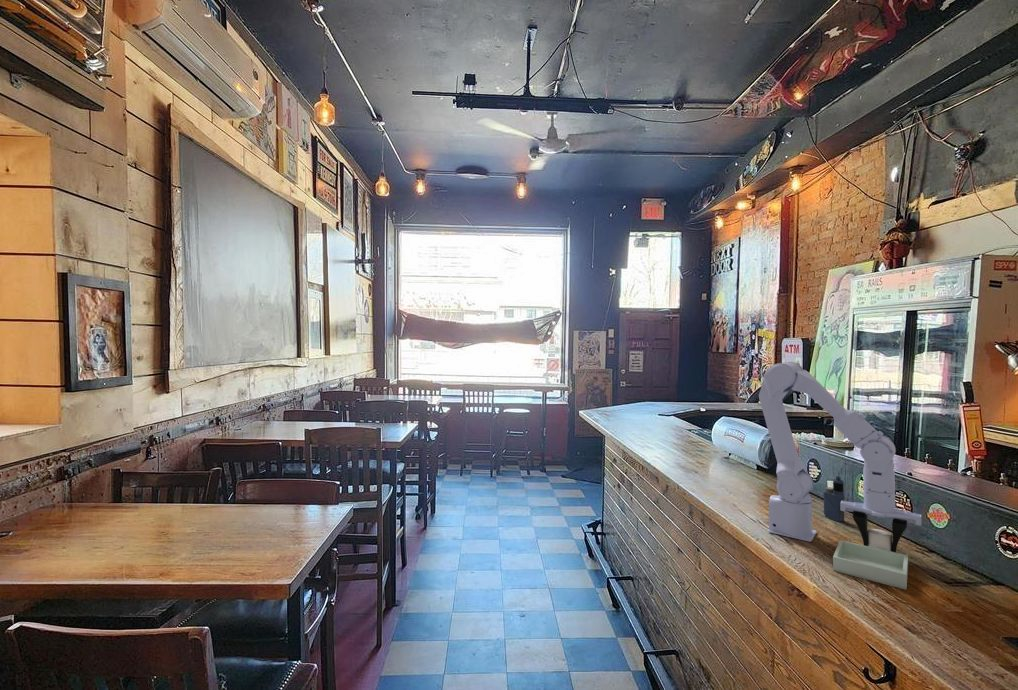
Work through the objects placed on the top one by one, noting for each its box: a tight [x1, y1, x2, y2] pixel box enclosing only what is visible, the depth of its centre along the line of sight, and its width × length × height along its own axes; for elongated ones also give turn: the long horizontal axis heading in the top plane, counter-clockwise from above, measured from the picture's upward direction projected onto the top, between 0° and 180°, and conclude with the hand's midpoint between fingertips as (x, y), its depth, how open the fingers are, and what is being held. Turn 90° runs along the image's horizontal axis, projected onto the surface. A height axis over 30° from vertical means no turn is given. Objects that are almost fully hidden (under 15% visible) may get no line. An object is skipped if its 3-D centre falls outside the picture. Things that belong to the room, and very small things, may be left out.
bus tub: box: [832, 539, 909, 591], centre depth 99 cm, size 12×11×3 cm
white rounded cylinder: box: [867, 528, 893, 552], centre depth 106 cm, size 4×4×5 cm
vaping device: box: [823, 476, 845, 523], centre depth 128 cm, size 3×5×12 cm, turn 16°
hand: (879, 548), depth 106 cm, fingers closed on white rounded cylinder, 4 cm apart
